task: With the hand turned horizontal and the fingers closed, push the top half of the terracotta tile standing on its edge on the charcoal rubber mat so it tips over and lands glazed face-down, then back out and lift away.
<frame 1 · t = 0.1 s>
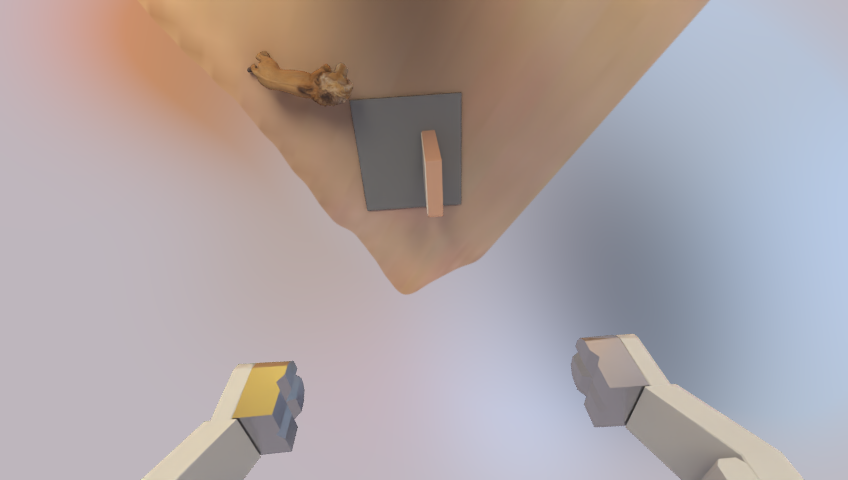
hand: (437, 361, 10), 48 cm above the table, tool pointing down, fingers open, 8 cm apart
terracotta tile: (429, 155, 57), resting on rubber mat
rubber mat: (410, 156, 57), on the table
lion figurine: (308, 71, 50), on the table
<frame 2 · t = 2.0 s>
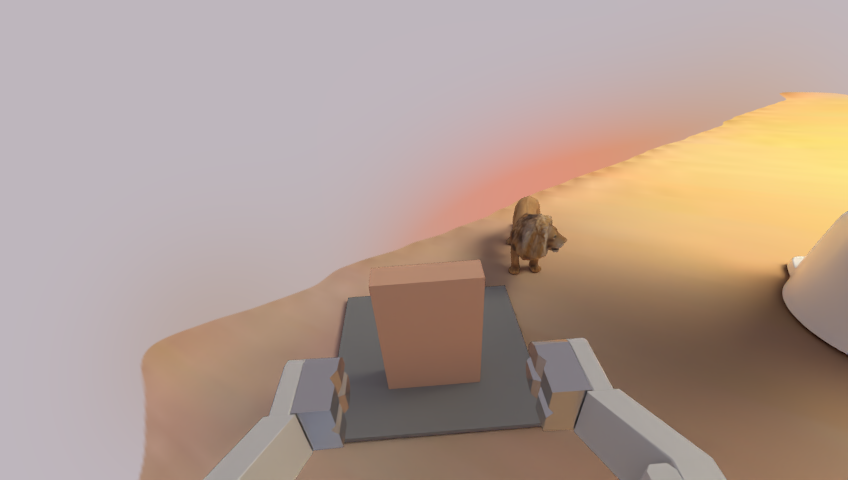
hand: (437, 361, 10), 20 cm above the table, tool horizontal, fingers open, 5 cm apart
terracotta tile: (433, 375, 32), resting on rubber mat
rubber mat: (431, 351, 35), on the table
lion figurine: (527, 258, 47), on the table
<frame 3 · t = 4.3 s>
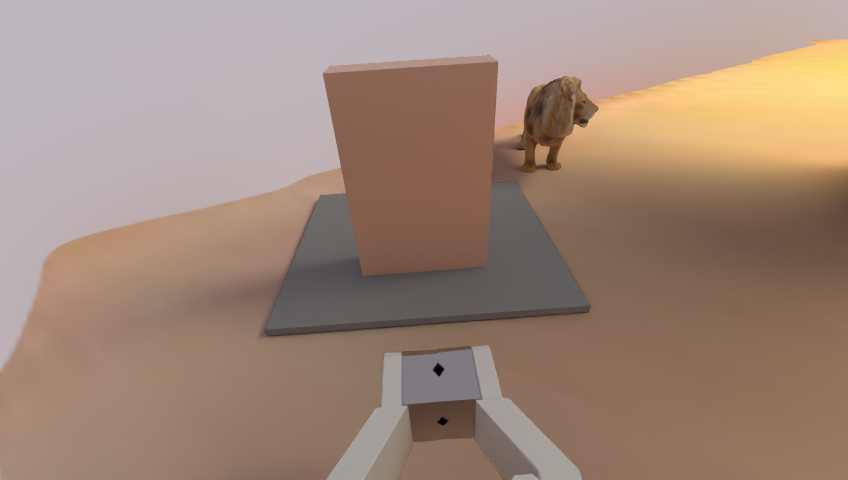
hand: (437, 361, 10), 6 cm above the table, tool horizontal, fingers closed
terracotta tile: (423, 261, 24), resting on rubber mat
rubber mat: (422, 242, 27), on the table
lion figurine: (542, 160, 39), on the table
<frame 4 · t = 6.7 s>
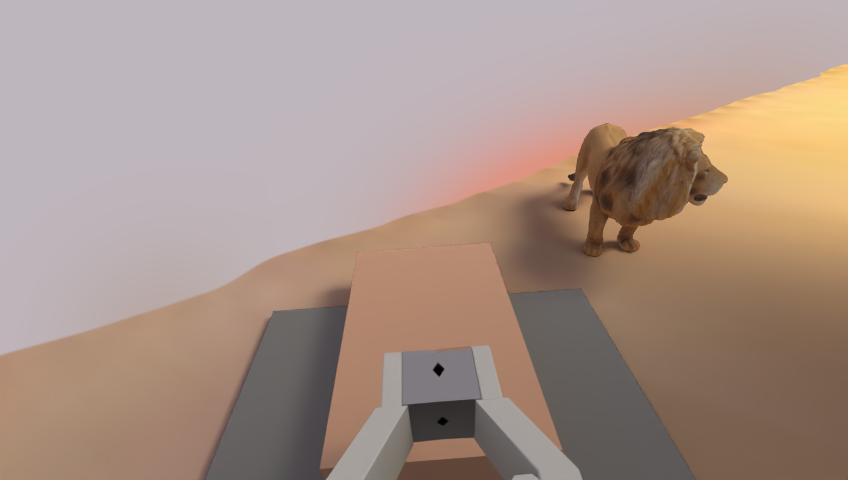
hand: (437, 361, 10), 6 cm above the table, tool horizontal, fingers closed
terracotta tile: (442, 473, 12), point 2 cm above the table, tilted 90°, touching rubber mat
rubber mat: (439, 445, 15), on the table
lion figurine: (605, 230, 27), on the table
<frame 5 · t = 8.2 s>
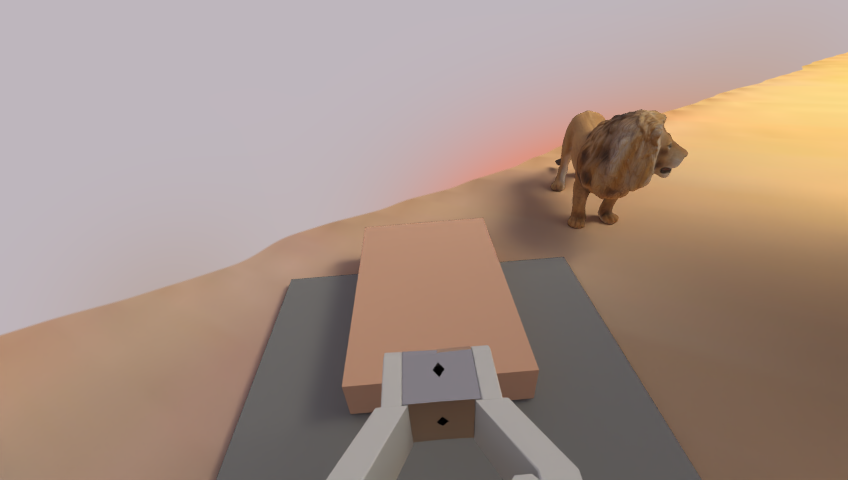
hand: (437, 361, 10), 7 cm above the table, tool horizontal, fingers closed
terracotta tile: (441, 392, 15), point 2 cm above the table, tilted 90°, touching rubber mat
rubber mat: (439, 379, 18), on the table
lion figurine: (588, 207, 30), on the table
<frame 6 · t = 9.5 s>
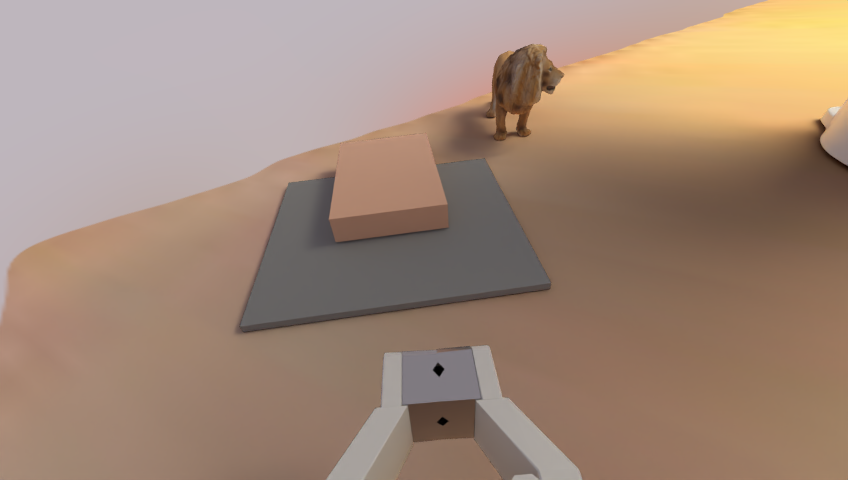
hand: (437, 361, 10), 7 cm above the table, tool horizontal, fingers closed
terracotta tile: (390, 223, 25), point 2 cm above the table, tilted 90°, touching rubber mat
rubber mat: (392, 227, 27), on the table
lion figurine: (512, 127, 40), on the table
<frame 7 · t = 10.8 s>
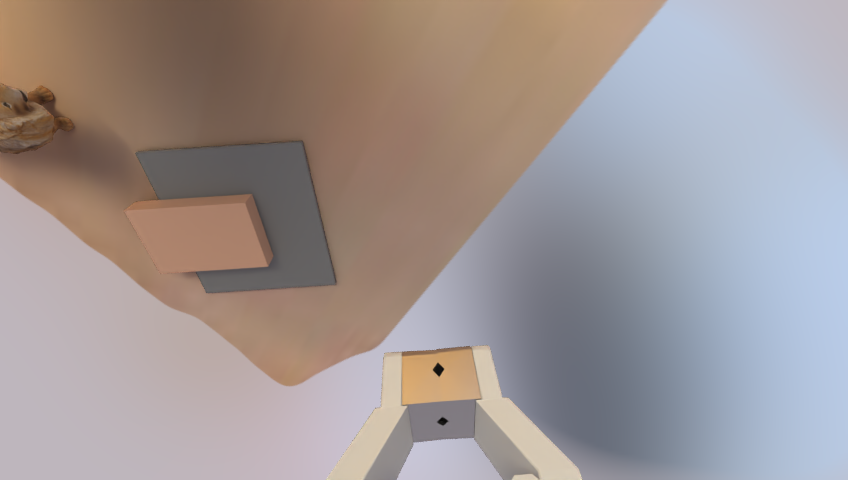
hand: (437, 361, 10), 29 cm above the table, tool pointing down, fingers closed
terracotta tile: (260, 231, 39), point 2 cm above the table, tilted 90°, touching rubber mat
rubber mat: (249, 224, 40), on the table
lion figurine: (22, 100, 33), on the table
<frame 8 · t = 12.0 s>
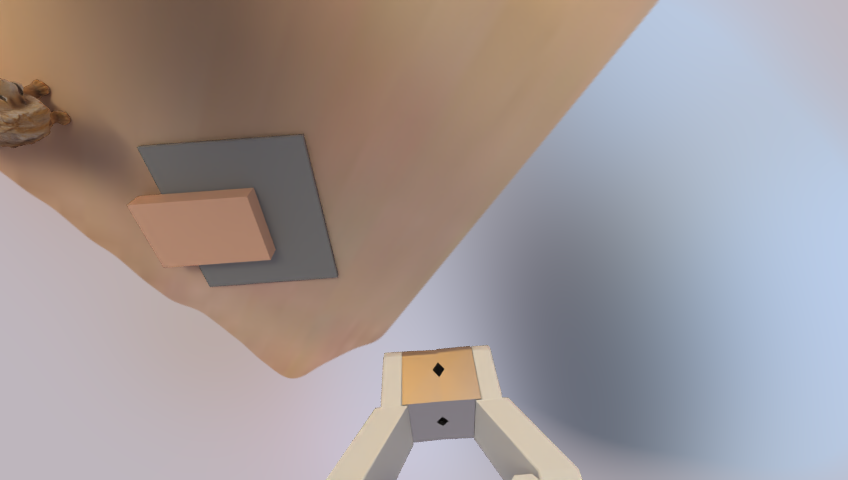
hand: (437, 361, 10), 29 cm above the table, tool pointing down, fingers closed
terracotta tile: (262, 225, 39), point 2 cm above the table, tilted 90°, touching rubber mat
rubber mat: (251, 218, 41), on the table
lion figurine: (18, 94, 33), on the table
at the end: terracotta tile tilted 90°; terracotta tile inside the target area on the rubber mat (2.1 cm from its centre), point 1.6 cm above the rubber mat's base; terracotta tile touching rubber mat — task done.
